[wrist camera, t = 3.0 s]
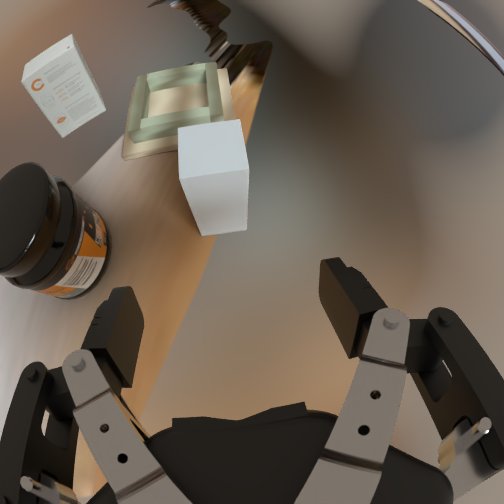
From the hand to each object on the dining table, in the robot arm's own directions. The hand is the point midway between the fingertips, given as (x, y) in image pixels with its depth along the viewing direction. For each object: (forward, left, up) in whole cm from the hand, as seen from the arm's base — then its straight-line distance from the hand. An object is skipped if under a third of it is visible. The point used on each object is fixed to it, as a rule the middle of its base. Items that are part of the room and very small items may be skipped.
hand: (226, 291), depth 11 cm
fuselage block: (0, +10, -15) cm, 18 cm away
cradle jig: (-4, +26, -15) cm, 30 cm away
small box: (-20, +31, -15) cm, 40 cm away
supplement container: (-17, +8, -15) cm, 24 cm away
